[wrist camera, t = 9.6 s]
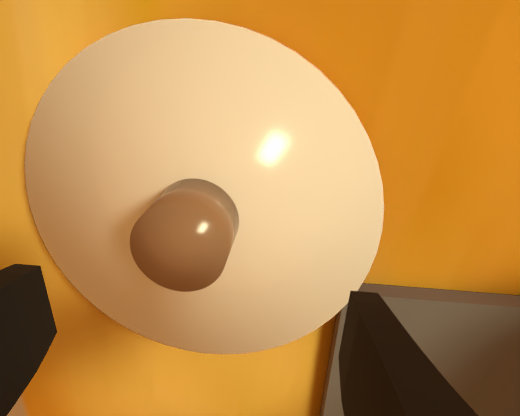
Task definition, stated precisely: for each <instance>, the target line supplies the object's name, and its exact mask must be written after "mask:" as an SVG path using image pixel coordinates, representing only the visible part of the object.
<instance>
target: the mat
mask: <svg viewBox="0 0 520 416" xmlns="http://www.w3.org/2000/svg"><path fill="white" fill-rule="evenodd" d="M358 291H362V292H374V293H378V294H379V295H380V296H381V297H382V298H383V300H384V301H385V302H386V304H387V305H388V306H389V308H390V309H391V311H392V312H393V313H394V315H395V316H396V317H397V319H398V320H399V321H400V323H401V324H402V325H403V327H404V328H405V329H406V330H407V332H408V333H409V334H410V336H411V337H412V338H413V340H414V341H415V342H416V343H417V345H418V346H419V347H420V348H421V350H422V351H423V352H424V353H425V355H426V356H427V357H428V358H429V359H430V361H431V362H432V363H433V364H434V366H435V367H436V368H437V369H438V370H439V372H440V373H441V374H442V375H443V376H444V378H445V379H446V380H447V381H448V382H449V383H450V385H451V386H452V387H453V388H454V389H455V390H456V391H457V393H458V394H459V395H460V396H461V397H462V398H463V399H464V400H465V401H466V403H467V404H468V405H469V406H470V407H471V408H472V409H473V410H474V411H475V413H476V414H477V415H478V416H520V296H519V295H506V294H493V293H480V292H468V291H455V290H442V289H429V288H417V287H404V286H391V285H379V284H366V283H362V284H361V286H360V288H359V289H358ZM347 307H348V303H347V304H346V305H345V306H344V307H343V308H342V309H341V310H340V311H339V312H338V313H337V316H336V322H335V328H334V334H333V339H332V345H331V351H330V357H329V363H328V369H327V375H326V381H325V387H324V393H323V399H322V405H321V411H320V416H344V413H343V407H342V401H341V388H340V374H339V358H338V356H339V350H340V345H341V339H342V334H343V328H344V323H345V317H346V312H347Z"/></svg>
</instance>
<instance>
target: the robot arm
mask: <svg viewBox="0 0 520 416" xmlns="http://www.w3.org/2000/svg"><path fill="white" fill-rule="evenodd" d="M56 333H57V330H56V326H55V322H54V318H53V314H52V310H51V306H50V302H49V299H48V295H47V291H46V287H45V283H44V279H43V275H42V271H41V267H40V266H35V265H22V264H14V265H11V266H9V267H6V268H4V269H2V270H0V416H7V414H8V413H9V412H10V410H11V409H12V407H13V406H14V404H15V403H16V401H17V400H18V398H19V397H20V396H21V394H22V393H23V391H24V390H25V388H26V387H27V385H28V384H29V382H30V381H31V379H32V378H33V376H34V375H35V373H36V372H37V370H38V368H39V366H40V364H41V362H42V361H43V359H44V357H45V355H46V353H47V351H48V349H49V347H50V345H51V343H52V341H53V339H54V337H55V335H56ZM338 358H339V374H340V388H341V401H342V407H343V413H344V416H478V415H477V414H476V413H475V411H474V410H473V409H472V408H471V407H470V406H469V405H468V404H467V403H466V401H465V400H464V399H463V398H462V397H461V396H460V395H459V394H458V393H457V391H456V390H455V389H454V388H453V387H452V386H451V385H450V383H449V382H448V381H447V380H446V379H445V378H444V376H443V375H442V374H441V373H440V372H439V370H438V369H437V368H436V367H435V366H434V364H433V363H432V362H431V361H430V359H429V358H428V357H427V356H426V355H425V353H424V352H423V351H422V350H421V348H420V347H419V346H418V345H417V343H416V342H415V341H414V340H413V338H412V337H411V336H410V334H409V333H408V332H407V330H406V329H405V328H404V327H403V325H402V324H401V323H400V321H399V320H398V319H397V317H396V316H395V315H394V313H393V312H392V311H391V309H390V308H389V306H388V305H387V304H386V302H385V301H384V300H383V298H382V297H381V296H380V295H379V294H378V293H374V292H362V291H350V296H349V301H348V307H347V312H346V317H345V323H344V328H343V334H342V339H341V345H340V350H339V356H338Z"/></svg>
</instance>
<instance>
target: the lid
mask: <svg viewBox="0 0 520 416" xmlns="http://www.w3.org/2000/svg"><path fill="white" fill-rule="evenodd" d="M25 181H26V190H27V195H28V200H29V205H30V209H31V212H32V215H33V218H34V221H35V224H36V227H37V229H38V232H39V234H40V236H41V238H42V240H43V243H44V245H45V247H46V248H47V250H48V252H49V253H50V255H51V257H52V258H53V260H54V262H55V263H56V265H57V266H58V267H59V269H60V270H61V271H62V272H63V274H64V275H65V276H66V278H67V279H68V280H69V281H70V282H71V284H72V285H73V286H74V287H75V288H76V289H77V290H78V291H79V292H80V293H81V294H82V295H83V296H84V297H85V298H86V299H87V300H88V301H90V302H91V303H92V304H93V305H94V306H95V307H96V308H98V309H99V310H100V311H102V312H103V313H104V314H106V315H107V316H109V317H110V318H111V319H113V320H114V321H116V322H118V323H119V324H121V325H123V326H124V327H126V328H128V329H129V330H131V331H133V332H135V333H138V334H140V335H142V336H144V337H146V338H148V339H151V340H154V341H156V342H159V343H162V344H165V345H168V346H172V347H175V348H179V349H183V350H188V351H194V352H200V353H209V354H244V353H251V352H257V351H263V350H267V349H271V348H275V347H278V346H282V345H284V344H287V343H290V342H292V341H295V340H297V339H300V338H301V337H303V336H305V335H307V334H309V333H311V332H312V331H314V330H316V329H318V328H319V327H320V326H322V325H323V324H325V323H326V322H327V321H329V320H330V319H331V318H333V317H334V316H335V315H336V314H337V313H338V312H339V311H340V310H341V309H342V308H343V307H344V306H345V305H346V304H347V303H348V301H349V296H350V291H358V289H359V288H360V286H361V284H362V283H363V281H364V279H365V278H366V276H367V274H368V273H369V271H370V268H371V266H372V263H373V261H374V258H375V256H376V253H377V250H378V246H379V242H380V238H381V234H382V226H383V215H384V200H383V185H382V180H381V175H380V170H379V166H378V161H377V158H376V156H375V153H374V150H373V148H372V145H371V142H370V140H369V137H368V135H367V133H366V131H365V129H364V127H363V125H362V123H361V122H360V120H359V118H358V116H357V114H356V112H355V111H354V109H353V108H352V106H351V105H350V104H349V102H348V101H347V100H346V98H345V97H344V95H343V94H342V93H341V91H340V90H339V89H338V88H337V87H336V86H335V85H334V84H333V83H332V82H331V81H330V79H329V78H328V77H327V76H326V75H325V74H324V73H323V72H322V71H321V70H320V69H319V68H317V67H316V66H315V65H313V64H312V63H311V62H309V61H308V60H307V59H306V58H304V57H303V56H302V55H300V54H299V53H298V52H296V51H295V50H293V49H291V48H289V47H287V46H286V45H284V44H282V43H280V42H279V41H277V40H275V39H273V38H271V37H269V36H266V35H264V34H261V33H259V32H256V31H254V30H251V29H249V28H246V27H242V26H238V25H233V24H229V23H225V22H221V21H213V20H202V19H190V18H182V19H166V20H155V21H151V22H146V23H141V24H137V25H132V26H129V27H127V28H124V29H121V30H119V31H116V32H114V33H111V34H109V35H106V36H105V37H103V38H101V39H100V40H98V41H96V42H94V43H93V44H91V45H89V46H88V47H86V48H85V49H83V50H82V51H81V52H80V53H79V54H77V55H76V56H75V57H74V58H73V59H71V60H70V61H69V62H68V63H67V64H66V65H65V66H64V67H63V68H62V70H61V71H60V72H59V73H58V74H57V75H56V77H55V78H54V79H53V80H52V81H51V83H50V85H49V86H48V88H47V90H46V91H45V93H44V94H43V96H42V98H41V99H40V101H39V104H38V106H37V109H36V111H35V114H34V116H33V119H32V121H31V125H30V129H29V134H28V138H27V142H26V153H25Z"/></svg>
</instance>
